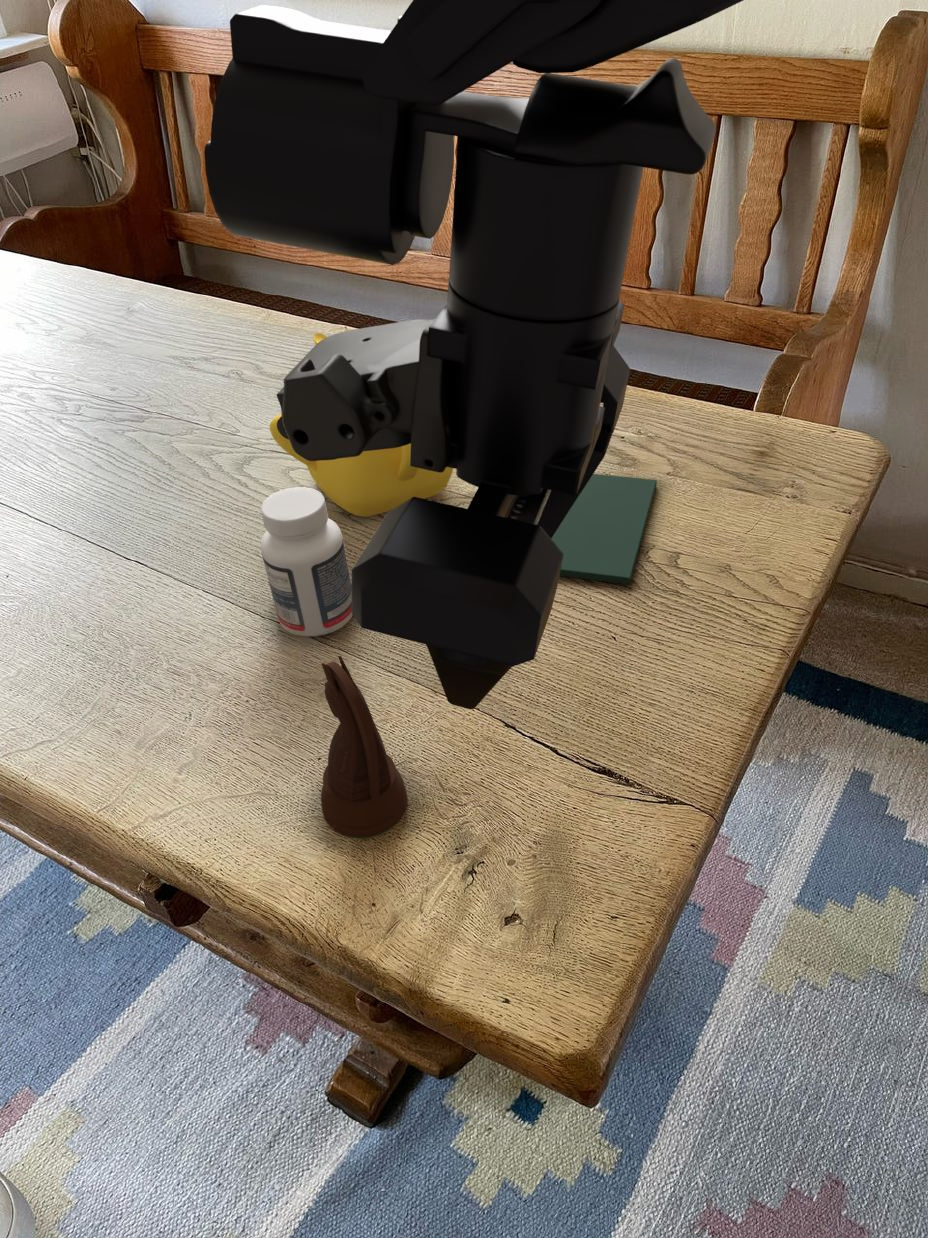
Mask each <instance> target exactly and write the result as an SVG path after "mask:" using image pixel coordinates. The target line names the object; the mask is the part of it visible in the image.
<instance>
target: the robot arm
mask: <svg viewBox="0 0 928 1238" xmlns="http://www.w3.org/2000/svg"><path fill="white" fill-rule="evenodd" d="M741 2H744V0H412V1H411V2H410V4H409V6H408V7H407V8H406V10H405V11H404V12H403V14H402V15H400V16H397V18H396V19H397V21H396V22H397V23H396V24H395V26H394V27H393V28H392V30H389V29H383V28H376V27H375V28H374V27H369V26H361V25H355V24H349V23H348V24H347V23H341V22H334V21H327V20H323V19H319V18H316V17H313V16H311V15H309V14H306V13H304V12H302V11H300V10H297V9H293V8H290V7H289V8H288V7H283V6H276V5H275V6H274V5H267V4H260V5H257V6H254V7H250V8H248V9H246V10H243V11H240V12H238V13H235V14H234V15H233V16H232V17H231V18H230V19H229V31H230V42H231V55H232V58H231V60H230V61H229V63H228V65H227V67H226V69H225V71H224V73H223V75H222V77H221V80H220V83H219V86H218V89H217V93H216V96H215V100H214V105H213V106H214V107H213V111H212V119H211V124H210V125H211V126H210V140H209V141H207V142H206V143H205V146H204V149H203V150H204V152H203V153H204V154H203V155H204V169H205V176H206V177H205V178H206V182H207V188H208V193H209V196H210V199H211V203H212V205H213V209H214V212H215V214H216V216H217V217H218V219H219V221H220V223H221V225H222V226H223V227H224V228H225V229H226V230H227V231H229V233H230V235H231V234H232V235H235V236H237V237H240V238H246V239H251V240H256V241H261V242H266V243H272V244H277V245H283V246H288V247H294V248H298V249H304V250H310V251H315V252H319V253H320V252H321V253H326V254H331V255H336V256H341V257H346V258H352V259H353V258H354V259H358V260H363V261H368V262H373V263H378V264H384V265H388V266H389V265H390V266H395V265H397V264H399V263H401V262H402V261H403V260H404V258H405V257H406V255H407V254H408V252H409V250H410V249H411V247H412V245H413V242H414V239H415V237H417V238H422V239H423V238H424V239H429V240H431V239H432V238H434V237H435V235H436V234H437V233H438V232H439V229H440V228H441V225H442V223H443V220H444V217H445V214H446V211H447V207H448V204H449V199H450V194H451V190H452V182H453V174H454V165H455V176H454V177H455V178H454V189H453V190H454V191H453V206H452V207H453V208H452V223H451V224H452V225H451V241H450V254H449V271H448V284H447V300H446V305H445V306H444V307H443V309H442V310H441V311H440V312H439V314H438V315H437V316H436V318H434V319H422V318H421V319H420V318H419V319H409V320H405V321H404V320H403V321H397V322H392V323H386V324H379V325H374V326H373V325H372V326H367V327H363V328H362V327H361V328H356V329H349V330H345V331H339V332H337V333H333V334H331V335H328V336H326V337H327V338H325V339H323V340H321V341H320V342H319V343H317V344H315V345H314V346H313V347H312V348H311V349H310V351H308V352H307V353H306V354H305V356H304V357H303V358H301V359H300V360H299V362H298V363H297V364H296V365H295V366H294V367H293V368H292V369H291V370H290V371H289V372H288V373H287V374H286V376H285V377H284V378H283V382H282V383H283V387H282V388H281V389H280V390H279V391H278V392H277V393H276V398H277V401H278V404H279V406H280V411H281V413H280V414H281V417H280V418H279V420H278V421H277V429H278V431H279V433H280V434H281V435H282V436H283V437H284V438H286V439H289V441H290V443H291V446H292V448H293V450H294V451H295V452H296V453H297V454H298V455H299V456H301V457H303V458H304V459H306V460H308V461H320V460H335V459H338V458H347V457H356V456H359V455H360V454H361V453H362V452H363V451H371V450H380V449H389V448H397V447H401V446H405V445H408V444H410V443H411V455H410V466H412V467H417V468H421V469H426V470H430V471H435V472H439V473H441V472H443V471H444V470H445V468H446V467H450V468H453V469H455V470H456V472H455V474H456V477H457V478H458V479H460V480H462V481H463V482H465V483H468V484H469V485H472V486H474V487H476V488H477V489H476V491H475V493H474V495H473V496H472V498H471V501H470V502H469V505H468V507H467V508H465V507H461V506H456V505H452V504H447V503H443V502H440V501H435V500H430V499H427V498H425V499H422V498H418V497H412V498H410V499H409V500H407V501H406V502H404V503H402V504H401V505H399V506H398V507H396V508H394V509H393V510H390V511H387V512H386V514H385V515H384V517H383V519H382V520H381V522H380V524H379V525H378V527H377V528H376V530H375V531H374V533H373V534H372V537H371V538H370V539H369V541H368V543H367V544H366V545H365V547H364V549H363V551H362V552H361V554H360V555H359V557H358V558H357V560H356V562H355V563H354V565H353V567H352V568H351V573H350V574H351V575H350V580H351V585H352V614H353V616H352V617H354V619H355V621H356V622H357V623H358V625H359V626H360V628H361V629H364V630H368V631H371V632H376V633H380V634H382V635H386V636H391V637H394V638H398V639H402V640H407V641H411V642H415V643H418V644H423V645H425V647H426V648H427V650H428V653H429V656H430V658H431V661H432V663H433V665H434V669H435V671H436V674H437V677H438V679H439V682H440V684H441V687H442V690H443V692H444V695H445V698H446V700H447V702H448V703H449V704H450V705H453V706H455V707H458V708H463V709H466V710H474V709H476V707H478V705H480V703H481V702H482V701H483V700H484V699H485V697H487V695H489V693H490V692H491V691H492V689H493V688H495V686H496V685H497V684H498V683H499V682H500V681H501V679H502V678H503V677H504V676H506V675H507V673H508V672H510V670H511V669H512V668H513V667H516V666H519V665H522V664H526V663H527V662H530V661H534V660H535V658H536V655H537V652H538V649H539V646H540V643H541V641H542V638H543V635H544V632H545V629H546V626H547V623H548V621H549V618H550V615H551V612H552V609H553V605H554V603H555V597H556V593H557V589H558V586H559V585H558V584H559V581H560V577H561V576H560V572H561V566H562V560H563V555H564V554H563V553H562V551H561V550H560V549H559V548H558V547H557V545H556V544H555V543H554V542H553V540H552V539H551V538H552V537H553V535H554V534H555V532H556V531H557V529H558V527H559V526H560V524H561V523H562V521H563V520H564V518H565V517H566V515H567V513H568V512H569V510H570V509H571V507H572V506H573V504H574V503H575V501H576V499H577V498H578V496H579V495H580V493H581V492H582V490H583V489H584V487H585V486H586V484H587V483H588V481H589V480H590V478H591V477H592V475H593V474H595V472H596V471H597V469H598V467H599V466H600V464H601V463H602V461H603V459H604V458H605V457H606V454H607V451H608V448H609V446H610V442H611V439H612V438H613V437H612V436H613V434H614V432H615V429H616V426H617V424H618V421H619V418H620V415H621V412H622V409H623V407H624V402H625V397H626V391H627V386H628V383H629V377H630V372H631V368H630V366H629V365H628V363H627V362H626V360H625V359H624V358H623V356H622V355H621V354H620V352H619V351H618V350H617V348H616V347H615V343H616V340H617V338H618V335H619V333H620V330H621V325H622V319H623V314H624V309H625V303H623V302H620V299H621V298H620V297H621V291H622V287H623V280H624V275H625V269H626V263H627V258H628V253H629V248H630V243H631V242H630V241H631V237H632V232H633V225H634V221H635V215H636V210H637V206H638V205H637V204H638V199H639V193H640V188H641V182H642V176H643V172H644V168H645V169H652V170H657V171H663V172H670V173H676V174H681V175H688V176H690V175H695V174H698V173H699V172H701V170H703V169H704V167H705V165H706V162H707V160H708V157H709V154H710V151H711V148H712V145H713V143H714V140H715V138H716V134H717V133H716V132H717V126H716V124H715V122H714V121H713V119H712V118H711V117H710V116H709V115H708V114H707V113H706V111H705V110H704V109H703V108H702V106H701V104H700V103H699V102H698V101H697V98H695V96H694V95H693V94H692V91H691V90H690V88H689V86H688V84H687V81H686V78H685V74H684V70H683V65H682V63H681V61H680V60H679V59H678V58H675V57H670V58H668V59H666V60H665V61H664V62H663V63H662V64H661V65H660V66H659V68H658V69H657V70H656V71H655V72H654V73H652V74H651V75H650V76H649V77H648V78H646V79H645V80H644V81H642V82H641V83H639V84H637V85H631V84H624V83H618V82H613V81H612V82H611V81H605V80H599V79H592V78H585V77H577V76H571V75H564V74H567V73H568V74H570V73H576V72H580V71H583V70H586V69H589V68H592V67H595V66H597V65H599V64H602V63H604V62H607V61H609V60H611V59H614V58H616V57H619V56H621V55H623V54H626V53H628V52H630V51H633V50H635V49H638V48H640V47H642V46H645V45H647V44H650V43H652V42H654V41H657V40H660V39H661V38H664V37H667V36H669V35H671V34H673V33H677V32H678V31H681V30H684V29H685V28H688V27H690V26H692V25H695V24H698V23H700V22H702V21H704V20H706V19H708V18H710V17H712V16H714V15H716V14H719V13H722V12H723V11H725V10H727V9H729V8H731V7H733V6H735V5H738V4H740V3H741ZM511 63H512V64H513V65H514V66H516V67H517V68H520V69H523V70H526V71H530V72H534V73H537V74H542V75H540V77H539V78H538V80H537V81H536V82H535V84H534V86H533V88H532V91H531V93H530V96H529V97H510V96H498V95H490V94H483V93H482V94H481V93H475V92H471V91H470V92H469V91H465V90H467V89H469V88H471V87H473V86H474V85H476V84H477V83H479V82H481V81H483V80H484V79H486V78H488V77H490V76H491V75H492V74H495V73H496V72H497V71H500V70H501V69H503V68H505V67H507V66H508V65H509V64H511ZM455 137H457V142H456V143H457V145H456V158H455ZM455 159H456V160H455ZM601 404H603V405H602V406H601Z"/></svg>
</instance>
